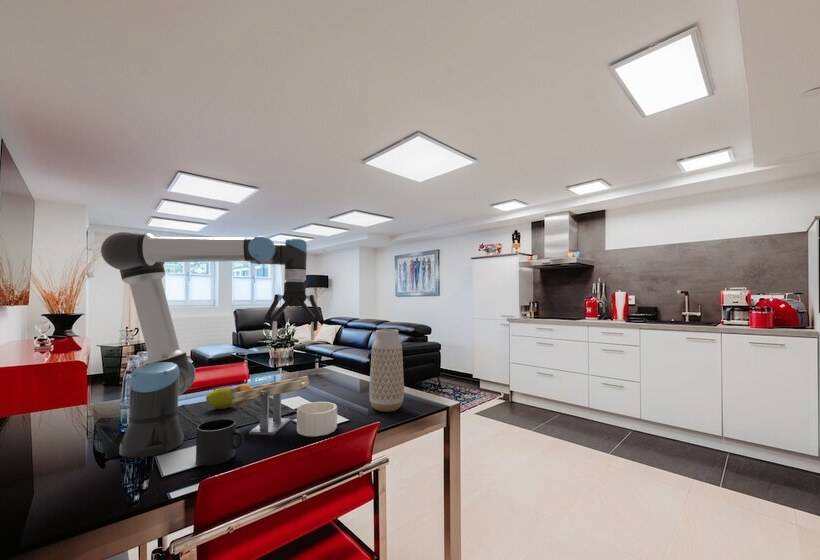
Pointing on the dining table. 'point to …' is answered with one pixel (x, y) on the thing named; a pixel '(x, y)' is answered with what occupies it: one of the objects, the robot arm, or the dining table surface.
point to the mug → (216, 441)
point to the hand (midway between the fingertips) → (293, 339)
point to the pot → (316, 418)
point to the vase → (386, 371)
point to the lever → (247, 396)
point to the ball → (244, 387)
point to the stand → (268, 424)
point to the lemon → (220, 398)
